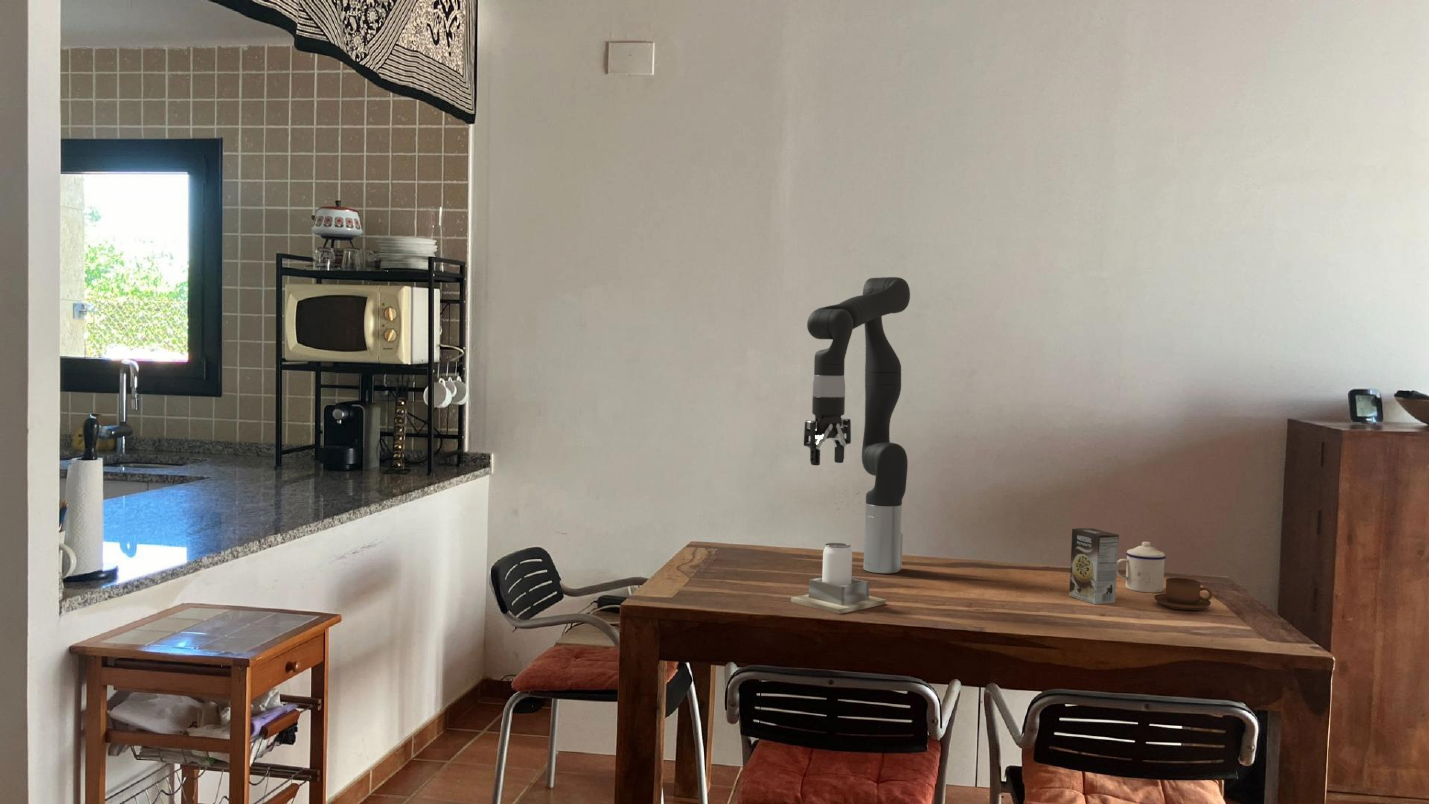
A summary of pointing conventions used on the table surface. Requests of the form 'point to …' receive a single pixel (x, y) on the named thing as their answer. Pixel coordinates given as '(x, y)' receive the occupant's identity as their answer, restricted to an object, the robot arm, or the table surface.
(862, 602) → the socket
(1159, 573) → the teacup with lid
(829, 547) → the can
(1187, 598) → the cup and saucer
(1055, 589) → the table surface
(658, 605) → the table surface
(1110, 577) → the coffee box
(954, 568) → the table surface
